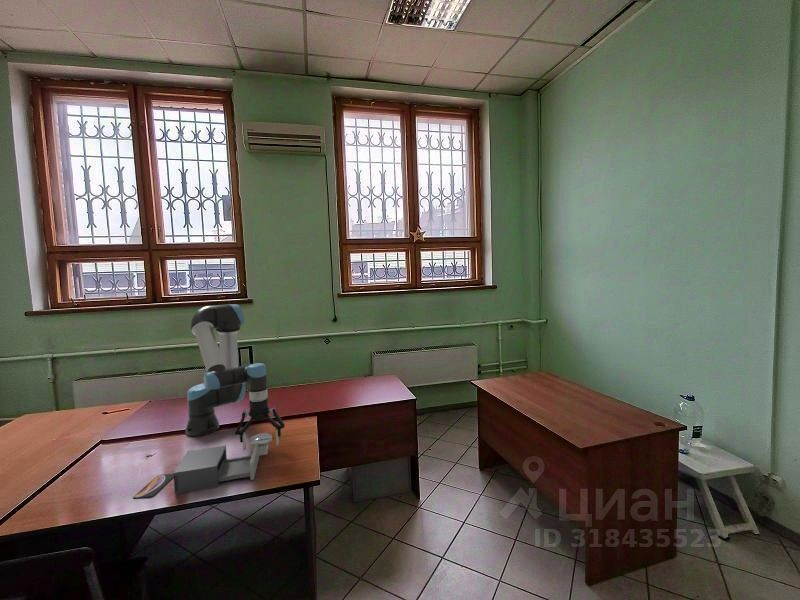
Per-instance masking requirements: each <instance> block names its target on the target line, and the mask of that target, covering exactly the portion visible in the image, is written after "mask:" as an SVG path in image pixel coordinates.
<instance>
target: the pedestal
mask: <svg viewBox="0 0 800 600" xmlns="http://www.w3.org/2000/svg"><path fill="white" fill-rule="evenodd" d="M258 450H259V457H260V456H265V455H268V453H269V444H266V445H264V446H258Z"/></svg>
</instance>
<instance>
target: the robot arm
mask: <svg viewBox="0 0 800 600" xmlns="http://www.w3.org/2000/svg"><path fill="white" fill-rule="evenodd" d="M244 325H245V316H244V312H243V309H242V308H241V306H240V305H239V304H236V303H235V304H234V303H233V304H231V303H227V304H218V305H205V306H203V307H201V308H199V309H198V310H197V311H195V313H194V314H193V315H192V317H191V321H190V330H191V333H192V334H193V336H195V338H196V341H197V344H198V348H199V351H200V355H201V356H202V361H203V364H204V368H205V370H206V372H205V373H204V374H203V383H200V384H199V383H198V384H196V385H194V386H192V387H191V388H189V389H188V390H187V392H186V393H187V395H186V396H187V397H186V400H187V407H188V408H187V411H188V420H187V423H186V426H185V434H186V436H188V437H201V436H206V435H209V434H212V433H214V432H216V431H217V430H218V429H220V421H219V419H218V417H217V414H216V412H215V411H216V410H215V408H218V407H223V406H226V405H231V404H236V403H237V402H241V401H242V400H243V399H244V398H245V396H246V395H245V394H246V383H247V385H248V399H249V411H246V410H243V412H242V413H241V420H240V421H239V424H238V426H237V428H236V430H235V432H234V435H235V436H237V435H238V436H239V442H240V443H242V449H243V450H242V451H246V449H247V439H246V436H247V435H246V433H245V432H246V431H247V429H248V428H249V427H250V426H251V424H253V422H259V421H264V420H265V421H267V422H268V423H270V424H271V425H272V426H273V427H274V428H275V438H276V439H275V441H276V443H275V444H276V446H279V444H280V443H279V441H280V439H279V438H280V437H281V435H282V431H281V430H282V429H284V428H285V423H284V421H283V419H282V418H281V416H280V415H279V414H278V412H277V407H275V406H273V408H269V399H268V396H269V395H268V381H267V380H268V379H267V372H268V371H267V367H266V364H265V363H262V362H256V363H245V364H242V365H241V366H239V361H238V360H239V359H238V353H239V351H238V332H240V331H241V327H242V326H244ZM214 330H215V332H217V334H218V337H219V338H218V339H219V340H218V341H219V342H218V341H217V338H216V336H215V332H214ZM218 343H219V345H218ZM270 413H271V414H272V415H273V416H274V418H272V417H271V415H269V414H270ZM248 416H249V417H250V419H249V420H248V421H247V423H246V424H245V425H244V427H242V425H243V423H244V422H245V419H246V418H247V417H248ZM274 419H275V420H274ZM276 421H277V422H278V423H277V422H276ZM241 428H242V429H241Z"/></svg>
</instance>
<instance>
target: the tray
mask: <svg viewBox="0 0 800 600" xmlns="http://www.w3.org/2000/svg"><path fill="white" fill-rule="evenodd" d="M259 461H260V456H259V450H258V443H256V444H255V446H253V450H252V454H251V455H246V456H245V455H244V456H240V457H233V458H227V459H226V460H222V462H221V465H220V467H219V469H218V482H220V483H221V482H224V481H225V482H226V481H231V480H238V479H242V478H249V477H250V481H252V480H255V476H256V473H257V468H258V465H259V464H258V463H259Z"/></svg>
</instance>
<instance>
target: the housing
mask: <svg viewBox="0 0 800 600" xmlns="http://www.w3.org/2000/svg"><path fill="white" fill-rule="evenodd" d="M226 445H227V444H226ZM226 445H225V444H224V445H219V446H213V447H211V446H210V447H206V448H199V449H193V450H187V452H186V453H185V455H184V456H183V458H182V459H181V461H179V464H178V465H177V467H176V468H175V469H174V472H173V473H172V474H174V478H173V487H174V495H180V494H186V493H191V492H197V491H203V490H207V489H213V488H218V487H219V485H220V483H221V482H218V469H219V467H220V465H221V462H222V460H226V459H228V458H227V446H226Z"/></svg>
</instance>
